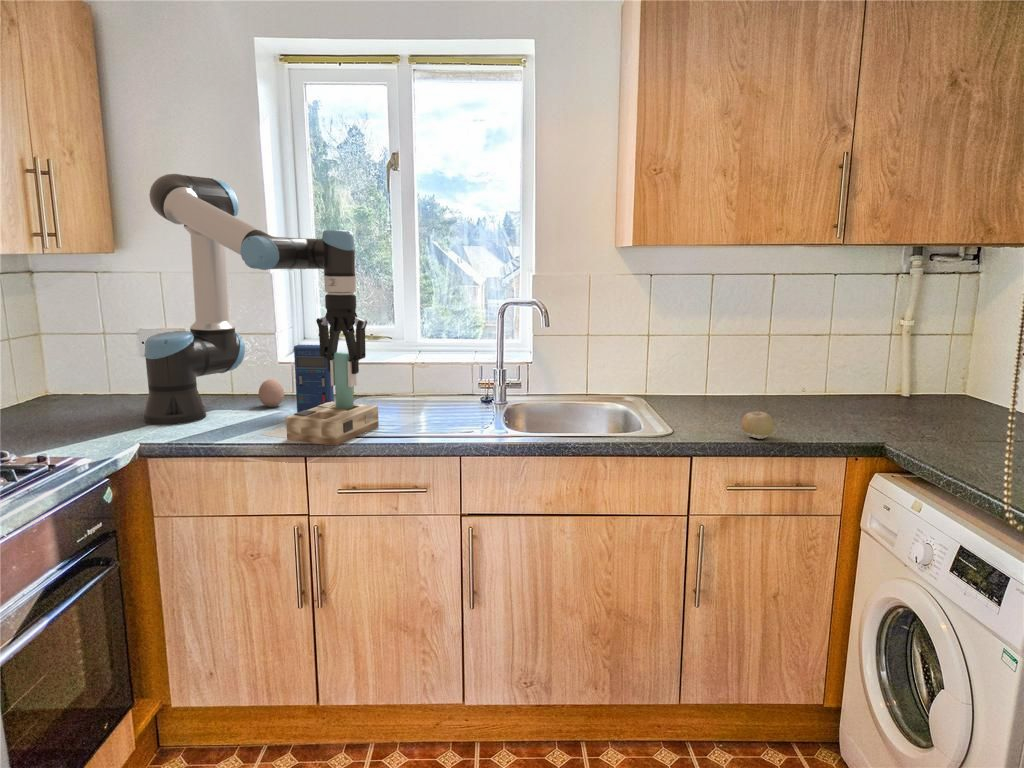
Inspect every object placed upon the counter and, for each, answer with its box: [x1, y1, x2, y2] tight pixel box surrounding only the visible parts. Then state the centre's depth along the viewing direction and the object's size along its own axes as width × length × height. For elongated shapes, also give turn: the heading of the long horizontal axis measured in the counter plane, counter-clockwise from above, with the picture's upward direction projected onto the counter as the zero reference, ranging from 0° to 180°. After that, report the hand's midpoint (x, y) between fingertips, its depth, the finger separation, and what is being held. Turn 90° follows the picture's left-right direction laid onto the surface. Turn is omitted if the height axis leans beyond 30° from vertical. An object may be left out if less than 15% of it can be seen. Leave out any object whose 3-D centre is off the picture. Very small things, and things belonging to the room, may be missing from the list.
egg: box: [258, 378, 285, 408], centre depth 191 cm, size 7×7×8 cm
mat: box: [260, 426, 287, 439], centre depth 162 cm, size 8×8×1 cm
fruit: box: [741, 407, 774, 436], centre depth 165 cm, size 8×7×8 cm
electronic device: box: [293, 344, 335, 413], centre depth 179 cm, size 10×5×20 cm, turn 91°
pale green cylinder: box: [334, 351, 354, 409], centre depth 165 cm, size 4×4×14 cm
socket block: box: [285, 401, 379, 447], centre depth 162 cm, size 14×19×6 cm
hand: (343, 385), depth 165 cm, fingers closed on pale green cylinder, 4 cm apart
